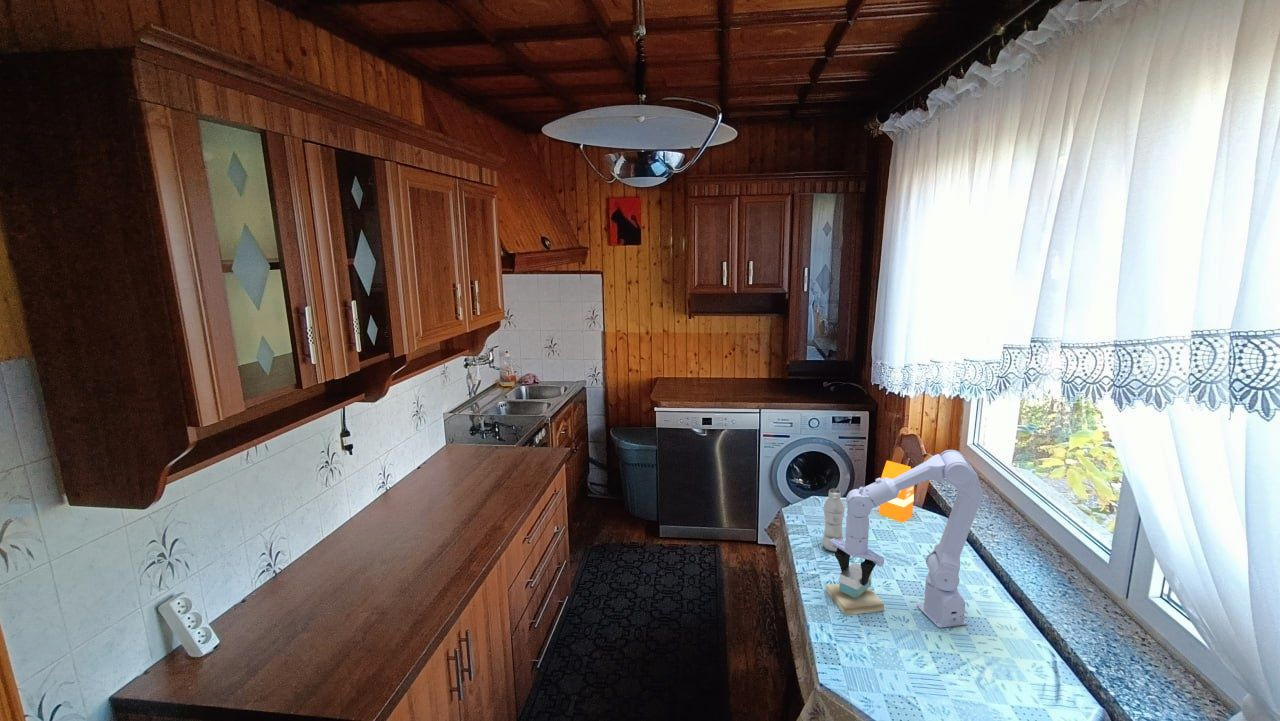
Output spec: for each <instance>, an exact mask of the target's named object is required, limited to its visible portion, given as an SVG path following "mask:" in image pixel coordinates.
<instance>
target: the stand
mask: <svg viewBox="0 0 1280 721" xmlns="http://www.w3.org/2000/svg"><path fill="white" fill-rule="evenodd" d="M839 585H840V582H839V583H832V584H831V583H830V584H826V585H825V589H826V590H825V592H826V593H827V594H828V595H829V597H830V598H831V599H832V601H833V602H834V603H835V605H836V606H837V608H839V610H840V611H841V612H842V614H844V616H849V615H858V614H859V615H861V614H865V613H866V614H867V613H869V614H870V613H878V612H884V611H885V603H884V602H883V601H882V600H881V599H880V598H879V597H878V595H876V594H875V592H874V591H872V589H871V587H869V588H868V589H867V590H866V591H864V592H863V593H862V594H861V595H860V596H859V597H858V598H855V597H853V596H850V595H848V594H846V593H844V592H842V591H839Z"/></svg>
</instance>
